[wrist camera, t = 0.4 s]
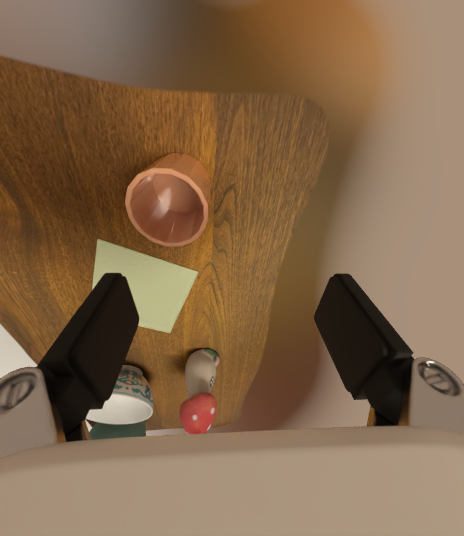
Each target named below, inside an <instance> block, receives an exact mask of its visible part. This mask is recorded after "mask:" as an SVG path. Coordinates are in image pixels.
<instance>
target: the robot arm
mask: <svg viewBox="0 0 464 536" xmlns="http://www.w3.org/2000/svg"><path fill="white" fill-rule="evenodd" d="M314 319H315V322H316V325H317V327H318V329H319V331H320V333H321V336H322V338H323V340H324V342H325V344H326V347H327V349H328V351H329V353H330V355H331V357H332V360H333V362H334V364H335V366H336V369H337V371H338V373H339V375H340V377H341V379H342V382H343V384H344V386H345V388H346V390H347V391H348V392H351V394H352V397H353V398H354V400H361V399H368V401H369V403H370V405H371V407H370V412H369V417H368V422H367V426H365V427H341V428H340V427H339V428H316V429H315V428H314V429H291V430H269V431H248V432H227V433H226V432H225V433H204V434H185V435H166V436H145V437H126V438H112V439H98V440H91V438H90V435H89V431H88V428H87V425H86V422H85V419H86V417H87V414H88V412H89V410H95V409H102V408H103V405H104V403H105V401H107V400H109V399H110V397H111V395H112V392H113V390H114V387H115V385H116V382H117V379H118V377H119V374H120V371H121V369H122V366H123V364H124V361H125V358H126V356H127V353H128V351H129V348H130V345H131V343H132V340H133V337H134V335H135V332H136V330H137V327H138V324H139V314H138V311H137V308H136V305H135V302H134V299H133V296H132V293H131V290H130V287H129V284H128V281H127V278H126V277H125V276H122V274H121V273H105V274H104V275H103V276H102V277H101V279H100V280H99V282H98V283H97V284H96V286H95V287H94V289H93V290H92V291H91V293H90V294H89V296H88V297H87V298H86V300H85V301H84V303H83V304H82V305H81V306H80V307H79V309H78V310H77V312H76V313H75V314H74V316H73V317H72V318H71V320H70V321H69V323H68V324H67V325H66V327H65V328H64V330H63V331H62V332H61V334H60V335H59V337H58V338H57V339H56V341H55V342H54V344H53V345H52V346H51V348H50V349H49V350H48V352H47V353H46V355H45V356H44V357H43V359H42V360H41V362H40V363H39V364H38V366H37V367H25V368H20V369H17V370H15V371H13V372H10V373H8V374H7V375H5V376H4V377H2V378H0V536H464V384H463V383H462V382H461V380H460V379H459V378H458V376H456V374H455V373H453V372H452V371H451V370H450V369H449V368H447V367H446V366H444V365H443V364H441V363H439V362H437V361H434V360H432V359H430V358H424V357H421V358H416V359H415V360H414V358H413V357H412V356H411V355H412V354H413V352H412V350H411V349H410V348H409V347H408V345H407V344H406V343H405V342H404V341H403V339H402V338H401V337H400V336H399V334H398V333H397V332H396V331H395V329H394V328H393V327H392V326H391V324H390V323H389V322H388V321H387V320H386V318H385V317H384V316H383V315H382V313H381V312H380V311H379V310H378V308H377V307H376V306H375V305H374V303H372V301H371V300H370V299H369V297H368V296H367V295H366V294H365V292H364V291H363V290H362V289H361V287H360V286H359V285H358V284H357V282H356V281H355V280H354V279H353V278H352V276H351V275H350V274H335V275H334V276H333V277H331V278H330V279H329V282H328V284H327V286H326V289H325V291H324V294H323V296H322V298H321V300H320V303H319V305H318V308H317V310H316V312H315V315H314Z"/></svg>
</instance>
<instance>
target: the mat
mask: <svg viewBox="0 0 464 536" xmlns="http://www.w3.org/2000/svg"><path fill="white" fill-rule="evenodd" d="M105 273H121V274H122V276H125V277H126V278H127V281H128V284H129V287H130V290H131V293H132V296H133V299H134V302H135V305H136V308H137V311H138V314H139V324H138V326H141V327H146V328H150V329H154V330H159V331H163V332H167V333H170V332H171V330H172V327H173V325H174V323H175V321H176V319H177V317H178V315H179V312H180V310H181V308H182V306H183V304H184V302H185V300H186V298H187V295H188V293H189V291H190V289H191V287H192V285H193V283H194V280H195V278H196V276H197V274H198V271H196V270H193V269H190V268H186V267H183V266H180V265H177V264H174V263H171V262H168V261H165V260H162V259H159V258H156V257H153V256H150V255H147V254H144V253H141V252H138V251H135V250H132V249H129V248H126V247H123V246H120V245H117V244H114V243H111V242H107V241H104V240H101V239H97V248H96V258H95V267H94V276H93V285H92V290H93V289H94V287H95V286H96V284H97V283H98V282H99V280H100V279H101V277H102V276H103V275H104V274H105Z"/></svg>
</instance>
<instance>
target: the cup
mask: <svg viewBox="0 0 464 536" xmlns="http://www.w3.org/2000/svg"><path fill="white" fill-rule="evenodd" d="M210 199H211V181H210V177H209V175H208V172H207V171H206V169H205V167H204V166H203V165H202V164H201V163H200V162H199V161H198V160H197V159H195V158H194V157H192V156H190V155H187V154H184V153H171V154H168V155H165V156H164V157H161V158H159V159H158V160H157V161H155V162H154V163H153V164H151V165H150V166H148V167H147V168H146V169H144V170H143V171H142V172H140V173H139V174H138V175H137V176H136V177H135V178H134V179H133V181H132V182H131V183H130V184H129V186H128V187H127V193H126V199H125V205H126V209H127V213H128V217H129V219H130V221H131V222H132V223H133V225H134V226H135V228H136V229H137V230H138V232H140V233H141V234H142V235H144V236H145V237H146V238H148V239H149V240H150V241H152V242H155V243H158V244H161V245H164V246H183V245H185V244H188V243H191V242H193V241H194V240H196V239H197V238H198V237H199V236H200V235H201V234H202V233H203V231H204V229H205V227H206V224H207V222H208V218H209V209H210Z"/></svg>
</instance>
